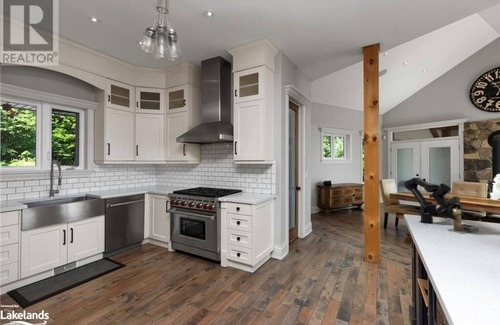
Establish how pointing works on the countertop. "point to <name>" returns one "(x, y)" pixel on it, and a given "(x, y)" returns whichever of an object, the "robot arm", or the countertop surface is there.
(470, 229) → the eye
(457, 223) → the hook peg
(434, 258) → the countertop surface
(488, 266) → the countertop surface
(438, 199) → the robot arm
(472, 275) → the countertop surface
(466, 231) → the pad
